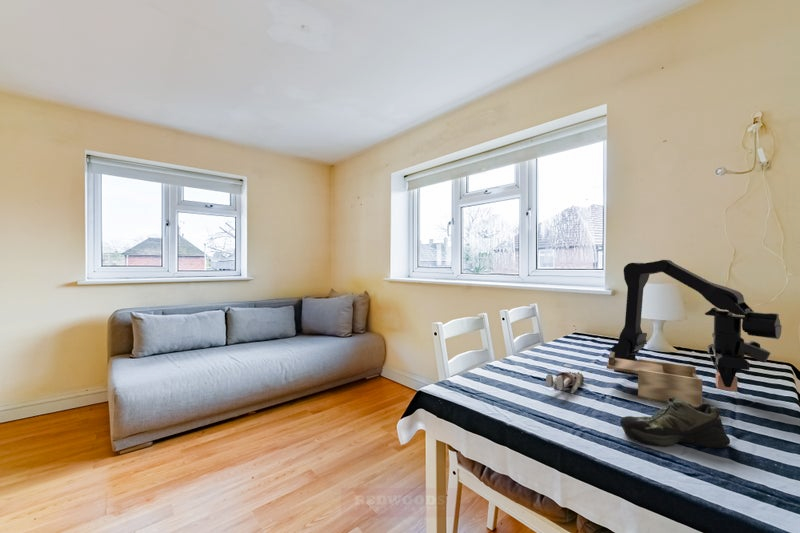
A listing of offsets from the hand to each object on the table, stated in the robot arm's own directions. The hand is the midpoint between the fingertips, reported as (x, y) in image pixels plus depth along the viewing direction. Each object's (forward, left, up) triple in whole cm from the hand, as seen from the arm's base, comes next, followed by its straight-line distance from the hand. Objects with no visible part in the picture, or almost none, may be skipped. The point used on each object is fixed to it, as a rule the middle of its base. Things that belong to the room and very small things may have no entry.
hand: (726, 384), depth 98 cm
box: (-14, -9, -4) cm, 17 cm away
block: (0, 0, -1) cm, 1 cm away
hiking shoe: (-15, -39, -4) cm, 42 cm away
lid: (-22, -9, +3) cm, 24 cm away
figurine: (-39, -21, -4) cm, 44 cm away
